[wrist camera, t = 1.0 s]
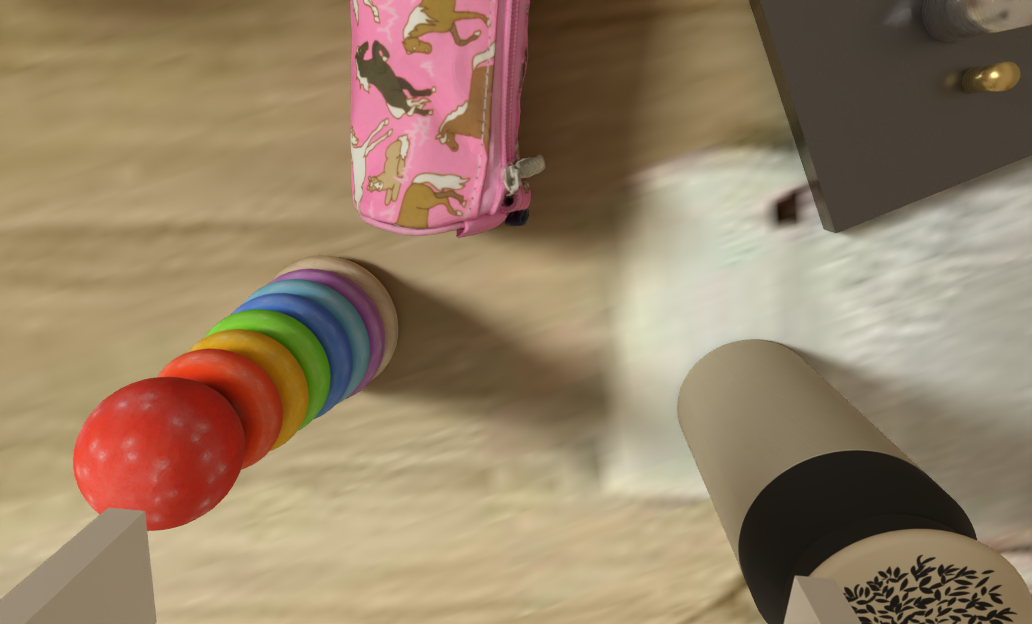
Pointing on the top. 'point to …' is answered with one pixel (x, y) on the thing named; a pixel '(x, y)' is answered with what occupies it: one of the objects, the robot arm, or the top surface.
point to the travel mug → (833, 498)
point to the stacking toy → (237, 393)
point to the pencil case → (439, 115)
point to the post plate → (899, 95)
